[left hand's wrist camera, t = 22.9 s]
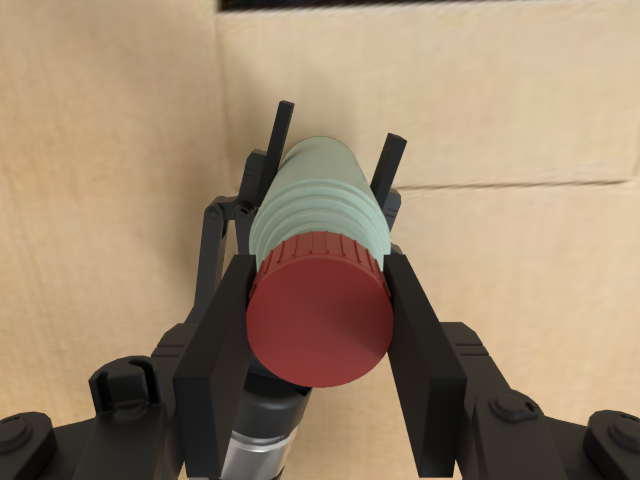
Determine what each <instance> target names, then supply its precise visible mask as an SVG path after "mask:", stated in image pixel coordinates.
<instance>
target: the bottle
mask: <svg viewBox="0 0 640 480" xmlns="http://www.w3.org/2000/svg"><path fill="white" fill-rule="evenodd" d="M310 231H313V232H315V231H328V232H333V233H337V234H343V235H344V236H346V237H349V238H351V239H353V240H357V242H358V243H359V244H361V245H362V246H363V247H365V248H368V249H369V252H370V254H371V255H372V256H373V258H374V259H377V261H378V264H379V267H380V270H381V271H383V257H384V255H390V249H391V239H390V232H389V228H388V225H387V222H386V219H385V217H384V215H383V213H382V211H381V209H380V207H379V205H378V203H377V201H376V199H375V197H374V195H373V193H372V191H371V189H370V187H369V185H368V183H367V180H366V178H365V176H364V174H363V172H362V170H361V168H360V166H359V164H358V162H357V160H356V158H355V156H354V155H353V153H352V152H351V151H350V150H349V149H348V148H347V147H346V146H345V145H344V144H343V143H341V142H339V141H337V140H335V139H332V138H329V137H311V138H308V139H305V140H303V141H301V142H299V143H297V144H296V145H295V146H294V147H293V148H292V149H291V150H290V151H289V152H288V153H287V155H286V156H285V158H284V160H283V162H282V164H281V166H280V168H279V170H278V172H277V174H276V176H275V178H274V180H273V182H272V184H271V186H270V188H269V190H268V192H267V194H266V196H265V198H264V201H263V203H262V205H261V207H260V209H259V211H258V213H257V215H256V217H255V219H254V222H253V224H252V227H251V231H250V238H249V252H250V255H256V261H257V273H258V271H259V268H260V265H261V262H262V260H265V258H266V257H267V256H268V255H269V253H270V250H271V249H272V250H273V249H274V248H275V247H276V246H278V245H279V244H281V242H282V241H283V240H284V241H285V240H287V239H289V238H291V237H293V236H295V234H298V235H299V234H303V233H307V232H310Z"/></svg>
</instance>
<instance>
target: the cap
mask: <svg viewBox="0 0 640 480" xmlns="http://www.w3.org/2000/svg"><path fill="white" fill-rule="evenodd" d="M390 298H392V297H391V294H390V291H389V288H388V285H387V283H386V280H385V277H384V274H383V271H381V270H380V267H379V264H378V261H377V259H374V258H373V256H372V255H371V254H370V252H369V249H368V248H365V247H363V246H362V245H361V244H359V243H358V242H357V240H353V239H351V238H349V237H346V236H344V235H343V234H337V233H333V232H328V231H315V232H313V231H310V232H307V233H303V234H299V235H298V234H295V236H293V237H291V238H289V239H287V240H285V241H284V240H283V241H282V242H281V244H279V245H278V246H276V247H275V248H274V249H273V250H272V249H271V250H270V253H269V255H268V256H267V257H266V258H265V260H262V262H261V265H260V268H259V271H258V273H256V276H255V279H254V282H253V285H252V288H251V291H250V294H249V297H248V299H249V303H248V306H247V310H246V323H247V337H248V342H249V344H250V347H251V349H252V351H253V352H254V354H255V356H256V357H257V358H258V360H259V361H260V362H261V363H262V364H263V365H264V366H265V367H266V368H267V369H268V370H269V371H271V372H272V373H273V374H275V375H277V376H278V377H280V378H282V379H284V380H286V381H288V382H291V383H294V384H297V385H301V386H306V387H318V388H324V387H333V386H338V385H343V384H346V383H349V382H351V381H354V380H356V379H358V378H360V377H361V376H363V375H365V374H366V373H368V372H369V371H370V370H372V369H373V368H374V367H375V366H376V365H377V364H378V363H379V362H380V361H381V359H382V358H383V357H384V355H385V354H386V352H387V350H388V348H389V346H390V344H391V341H392V333H393V319H394V312H393V307H392V304H391V301H390Z"/></svg>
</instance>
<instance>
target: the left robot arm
mask: <svg viewBox="0 0 640 480" xmlns="http://www.w3.org/2000/svg"><path fill="white" fill-rule="evenodd" d="M256 273H257V261H256V255H234V256H233V258H232V260H231V262H230V264H229V266H228V268H227V270H226V272H225V274H224V276H223V278H222V280H221V282H220V284H219V286H218V288H217V290H216V292H215V294H214V296H213V298H212V300H211V302H210V304H209V306H208V308H207V310H206V312H205V314H204V316H203V318H202V320H201V322H200V323H178V324H177V325H175V326H174V327H173V328H171V329H170V330H169V331H167V332H166V333H165V334H164V335H163V337H162V338H161V340H160V342H159V343H158V345H157V348H155V350H154V351H153V353H152V354H151V358H150V357H147V356H128V357H124V358H120V359H116V360H114V361H112V362H110V363H107V364H105V365H104V366H102V367H101V368H100V369H98V370H97V371H96V372H94V374H93V375H92V376H91V378H90V379H89V380H88V381H89V385H90V390H91V394H92V398H93V402H94V407H95V411H96V416H95V418H92V419H88V420H85V421H82V422H77V423H73V424H69V425H64V426H60V427H56V428H53V426H52V422H51V419H50V418H49V417H48V416H47V415H46V414H45V413H39V412H26V413H19V414H16V415H13V416H10V417H7V418H4V419H2V420H0V480H178V476H179V474H180V471H181V468H182V465H183V463H184V461H185V467H186V474H187V478H221V474H222V470H223V466H224V463H225V459H226V455H227V451H228V447H229V443H230V439H231V435H232V431H233V427H234V423H235V419H236V415H237V411H238V407H239V403H240V399H241V395H242V391H243V387H244V383H245V379H246V376H247V372H248V368H249V364H250V360H251V356H252V352H253V351H252V349H251V347H250V344H249V342H248V337H247V323H246V310H247V306H248V303H249V299H248V297H249V294H250V291H251V288H252V285H253V282H254V279H255V276H256ZM383 274H384V277H385V280H386V283H387V285H388V288H389V291H390V294H391V297H392V298H390V301H391V304H392V307H393V312H394V319H393V333H392V341H391V344H390V346H389V348H388V350H387V353H388V357H389V361H390V365H391V369H392V373H393V377H394V380H395V384H396V388H397V392H398V396H399V400H400V404H401V408H402V412H403V416H404V420H405V424H406V428H407V432H408V436H409V440H410V444H411V448H412V452H413V456H414V460H415V464H416V468H417V471H418V475H419V478H453V472H454V466H455V459H456V461H457V464H458V467H459V470H460V472H461V475H462V480H640V418H638V417H636V416H633V415H630V414H627V413H624V412H621V411H612V410H602V411H597V412H595V413H594V414H593V415H591V416H590V417H589V421H588V424H587V426H583V425H579V424H574V423H570V422H566V421H561V420H557V419H554V418H550V417H547V416H545V415H544V413H543V412H542V410H541V409H540V407H539V406H538V404H537V403H535V402H534V401H533V400H532V399H531V398H529V397H528V396H526V395H524V394H522V393H520V392H518V391H516V390H513V389H511V388H510V386H509V385H508V383H507V382H506V380H505V378H504V377H503V375H502V374H501V372H500V370H499V369H498V367H497V366H496V364H495V363H494V361H493V359H492V358H491V356H489V353H488V351H487V350H486V348H485V347H484V346H483V344H482V342H481V340H480V339H479V337H478V336H477V334H476V332H474V331H473V330H472V329H470V328H469V327H468V326H466V325H465V324H464V323H462V322H439V320H438V318H437V316H436V314H435V312H434V310H433V308H432V306H431V304H430V303H429V301H428V299H427V297H426V295H425V293H424V291H423V289H422V287H421V285H420V283H419V281H418V279H417V277H416V275H415V273H414V271H413V269H412V267H411V265H410V263H409V261H408V259H407V257H406V255H384V257H383Z"/></svg>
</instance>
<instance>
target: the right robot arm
mask: <svg viewBox="0 0 640 480" xmlns="http://www.w3.org/2000/svg"><path fill="white" fill-rule="evenodd" d="M294 105H295V104H294V103H291V102H287V101H284V100H283V101H280V102H279V106H278V111H277V115H276V119H275V123H274V127H273V131H272V135H271V139H270V143H269V147H268V151H267V152H265V151H261V150H258V149H254V150H253V151H252V153H251V154H250V155H249V157H248V158H247V161H246V165H245V170H244V174H243V178H242V183H241V187H240V191H239V195H237V196H235V197H224V196H219V197H216V199H215V200H214V201H213V202H212V203H211V204H210V205H209V206H208V207H207V208H206V209H205V212H204V221H203V230H202V239H201V248H200V257H199V267H198V276H197V285H196V294H195V303H194V307H193V308H192V310H191V312H190V314H189V315H188V317H187V319H186V321H185V322H184V323H200V322H201V320H202V318H203V316H204V314H205V312H206V310H207V308H208V306H209V304H210V302H211V300H212V298H213V296H214V294H215V292H216V290H217V288H218V286H219V284H220V282H221V276H222V268H223V261H224V253H225V245H226V238H227V230H228V223H229V220H235V226H236V235H237V243H238V252H239V255H250V252H249V238H250V231H251V227H252V224H253V222H254V219H255V217H256V215H257V213H258V211H259V208H258V207H261V205H262V203H263V201H264V198H265V196H266V194H267V192H268V190H269V188H270V186H271V184H272V182H273V180H274V178H275V176H276V174H277V170H278V167H279V163H280V159H281V155H282V151H283V147H284V143H285V140H286V136H287V132H288V128H289V124H290V120H291V117H292V113H293V109H294ZM406 143H407V141H406V140H405V139H403V138H402V137H400V136H398V135H394V134H391V133H388V135H387V138H386V141H385V144H384V147H383V150H382V153H381V156H380V159H379V162H378V164H377V167H376V170H375V173H374V176H373V179H372V182H371V185H370V189H371V191H372V193H373V195H374V197H375V199H376V201H377V203H378V205H379V207H380V209H381V211H382V213H383V215H384V217H385V219H386V222H387V225H388V228H389V232H391V229H392V226H393V224H394V221H395V218H396V216H397V213H398V210H399V208H400V205H401V195H400V194H399V193H398V191H397V190H394V189H390V187H391V185H392V182H393V179H394V176H395V174H396V171H397V168H398V165H399V163H400V160H401V157H402V154H403V151H404V149H405V146H406ZM390 255H403V253H402V251H401V249H400V248H399V246H397V245H394V244H392V243H391V249H390ZM312 389H313V387H306V386H301V385H297V384H294V383H291V382H288V381H286V380H284V379H282V378H280V377H278V376H277V375H275V374H273V373H272V372H271V371H269V370H268V369H267V368H266V367H265V366H264V365H263V364H262V363H261V362H260V361H259V360H258V358H257V357H256V356H255V354H254V352H252V356H251V360H250V364H249V368H248V372H247V376H246V379H245V383H244V387H243V391H242V395H241V399H240V403H239V407H238V411H237V415H236V419H235V423H234V427H233V431H232V435H231V439H230V443H229V447H228V451H227V455H226V459H225V463H224V466H223V470H222V474H221V478H189V480H280V477H281V474H282V471H283V469H284V466H285V463H286V461H287V458H288V456H289V453H290V450H291V448H292V445H293V442H294V439H295V437H296V434H297V431H298V428H299V423H300V421H301V419H302V417H303V414H304V411H305V408H306V405H307V403H308V400H309V397H310V394H311V391H312Z"/></svg>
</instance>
